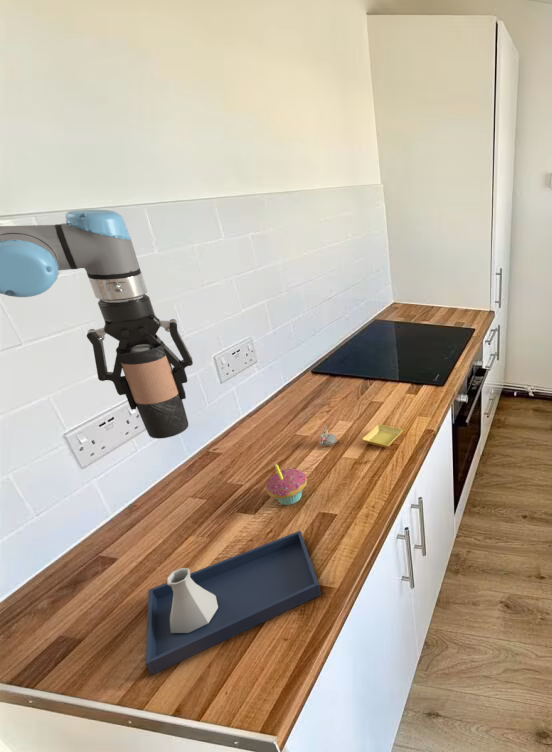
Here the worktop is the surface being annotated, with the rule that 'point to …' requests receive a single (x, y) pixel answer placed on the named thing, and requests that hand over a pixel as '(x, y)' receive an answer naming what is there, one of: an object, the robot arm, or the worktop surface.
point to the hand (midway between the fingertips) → (159, 401)
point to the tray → (233, 599)
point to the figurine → (327, 438)
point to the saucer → (382, 435)
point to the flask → (189, 603)
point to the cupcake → (286, 485)
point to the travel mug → (154, 389)
